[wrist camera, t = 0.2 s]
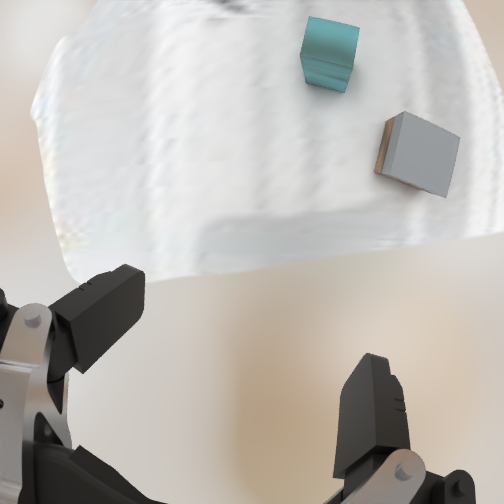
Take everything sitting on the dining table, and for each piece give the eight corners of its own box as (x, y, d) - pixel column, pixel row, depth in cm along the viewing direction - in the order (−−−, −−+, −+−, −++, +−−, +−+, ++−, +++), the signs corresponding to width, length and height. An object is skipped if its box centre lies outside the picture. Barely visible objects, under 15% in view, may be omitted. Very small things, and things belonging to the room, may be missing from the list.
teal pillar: (313, 51, 28) (309, 16, 19) (350, 60, 27) (359, 27, 18) (305, 82, 30) (299, 55, 21) (344, 92, 29) (352, 68, 20)
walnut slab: (385, 121, 29) (393, 116, 25) (432, 140, 28) (444, 139, 24) (373, 171, 32) (380, 173, 28) (420, 189, 31) (431, 193, 27)
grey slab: (394, 116, 25) (404, 111, 22) (445, 139, 24) (460, 137, 21) (381, 173, 28) (389, 174, 24) (432, 193, 27) (445, 198, 23)
